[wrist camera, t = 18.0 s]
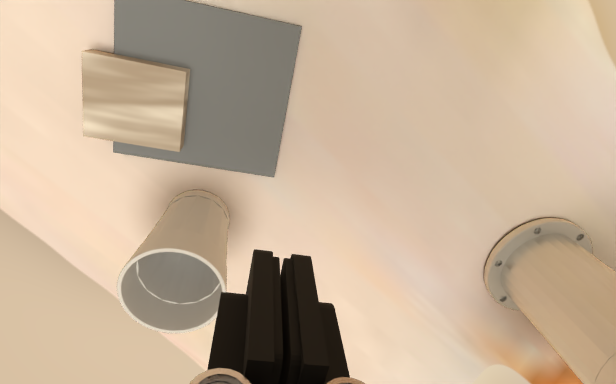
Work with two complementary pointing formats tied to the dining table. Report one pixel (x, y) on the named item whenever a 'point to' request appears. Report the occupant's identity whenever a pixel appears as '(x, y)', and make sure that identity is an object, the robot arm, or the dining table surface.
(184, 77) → the tile
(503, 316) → the dining table surface
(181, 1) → the mat
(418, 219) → the dining table surface
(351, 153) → the dining table surface
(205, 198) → the cup
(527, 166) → the dining table surface
